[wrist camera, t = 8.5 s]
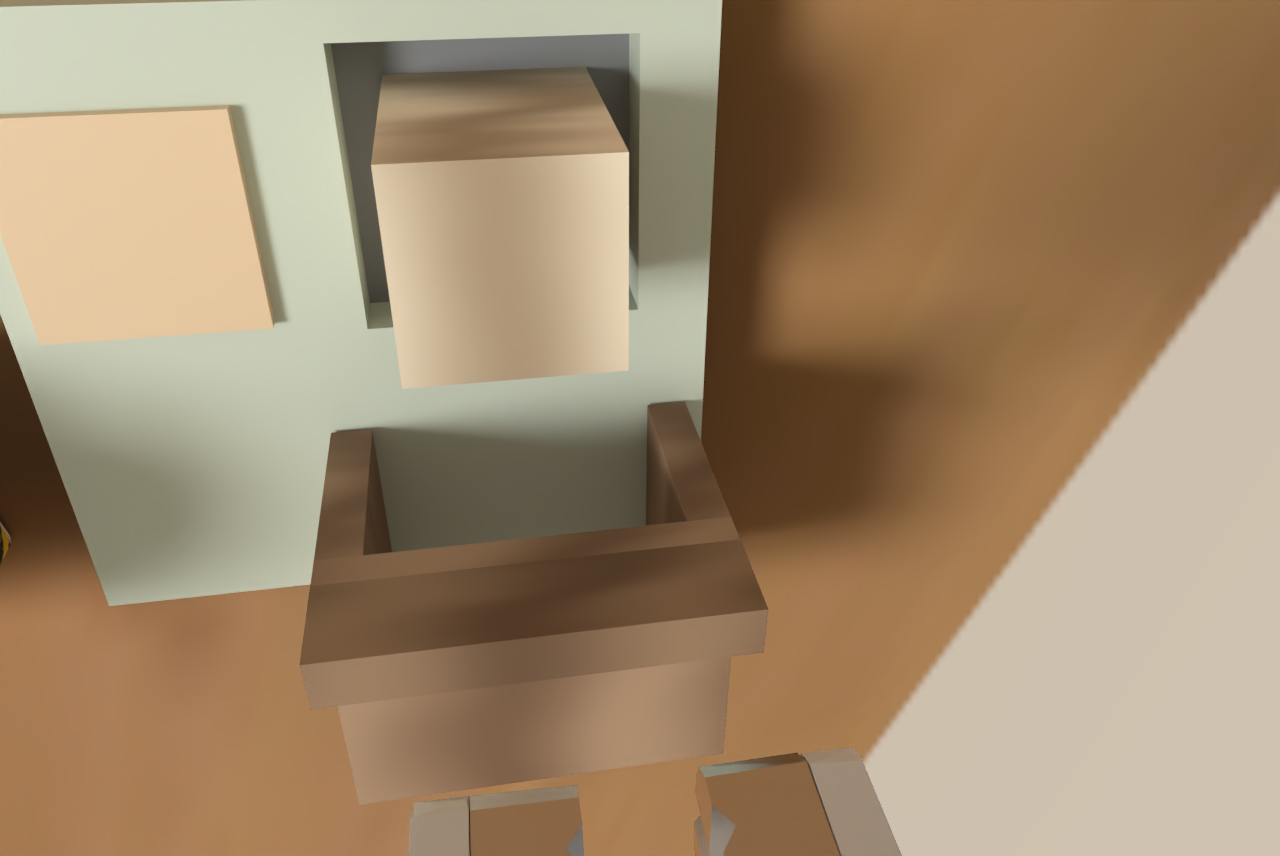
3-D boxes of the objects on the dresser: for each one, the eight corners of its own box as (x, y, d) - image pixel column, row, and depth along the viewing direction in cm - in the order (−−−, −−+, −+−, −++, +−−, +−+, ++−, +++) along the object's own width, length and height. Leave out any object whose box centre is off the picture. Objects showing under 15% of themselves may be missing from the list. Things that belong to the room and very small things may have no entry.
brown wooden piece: (685, 401, 27) (767, 609, 20) (677, 600, 31) (745, 828, 24) (330, 432, 26) (299, 665, 19) (369, 636, 29) (354, 887, 23)
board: (697, -32, 24) (726, -10, 21) (679, 493, 32) (698, 549, 30) (-64, -15, 21) (-121, 13, 19) (129, 548, 29) (106, 613, 27)
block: (585, 66, 23) (628, 151, 18) (589, 251, 26) (628, 370, 21) (382, 74, 23) (371, 164, 18) (405, 263, 25) (401, 388, 20)
